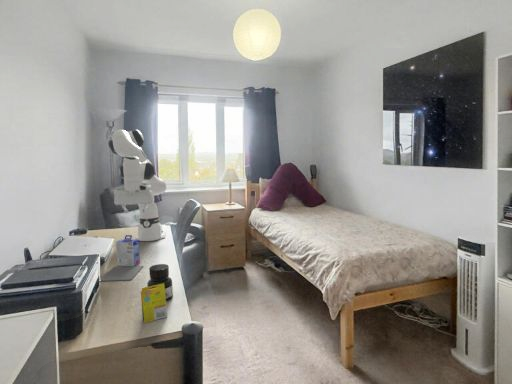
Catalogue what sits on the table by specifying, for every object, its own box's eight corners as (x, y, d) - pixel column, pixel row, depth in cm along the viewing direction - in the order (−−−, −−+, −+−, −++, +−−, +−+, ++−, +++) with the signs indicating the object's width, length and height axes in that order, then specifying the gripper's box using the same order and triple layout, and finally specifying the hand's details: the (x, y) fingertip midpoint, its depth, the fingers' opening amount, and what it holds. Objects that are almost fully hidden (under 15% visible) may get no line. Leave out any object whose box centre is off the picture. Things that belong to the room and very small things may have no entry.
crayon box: (165, 313, 105) (163, 280, 104) (167, 317, 103) (165, 283, 101) (142, 319, 102) (139, 285, 100) (143, 323, 99) (141, 288, 98)
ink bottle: (148, 305, 111) (146, 273, 110) (146, 296, 119) (144, 265, 118) (176, 300, 115) (174, 268, 114) (172, 291, 123) (170, 261, 122)
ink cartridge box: (141, 262, 158) (139, 234, 156) (134, 266, 152) (132, 237, 150) (123, 262, 159) (121, 234, 158) (116, 265, 154) (114, 237, 152)
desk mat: (114, 267, 151) (114, 266, 151) (143, 266, 152) (143, 265, 152) (97, 281, 134) (97, 280, 134) (131, 280, 135) (130, 279, 135)
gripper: (111, 188, 162) (113, 214, 164) (150, 186, 163) (152, 212, 164) (116, 187, 168) (118, 212, 170) (154, 185, 169) (156, 210, 171)
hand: (135, 212), depth 167 cm, fingers open, 8 cm apart
